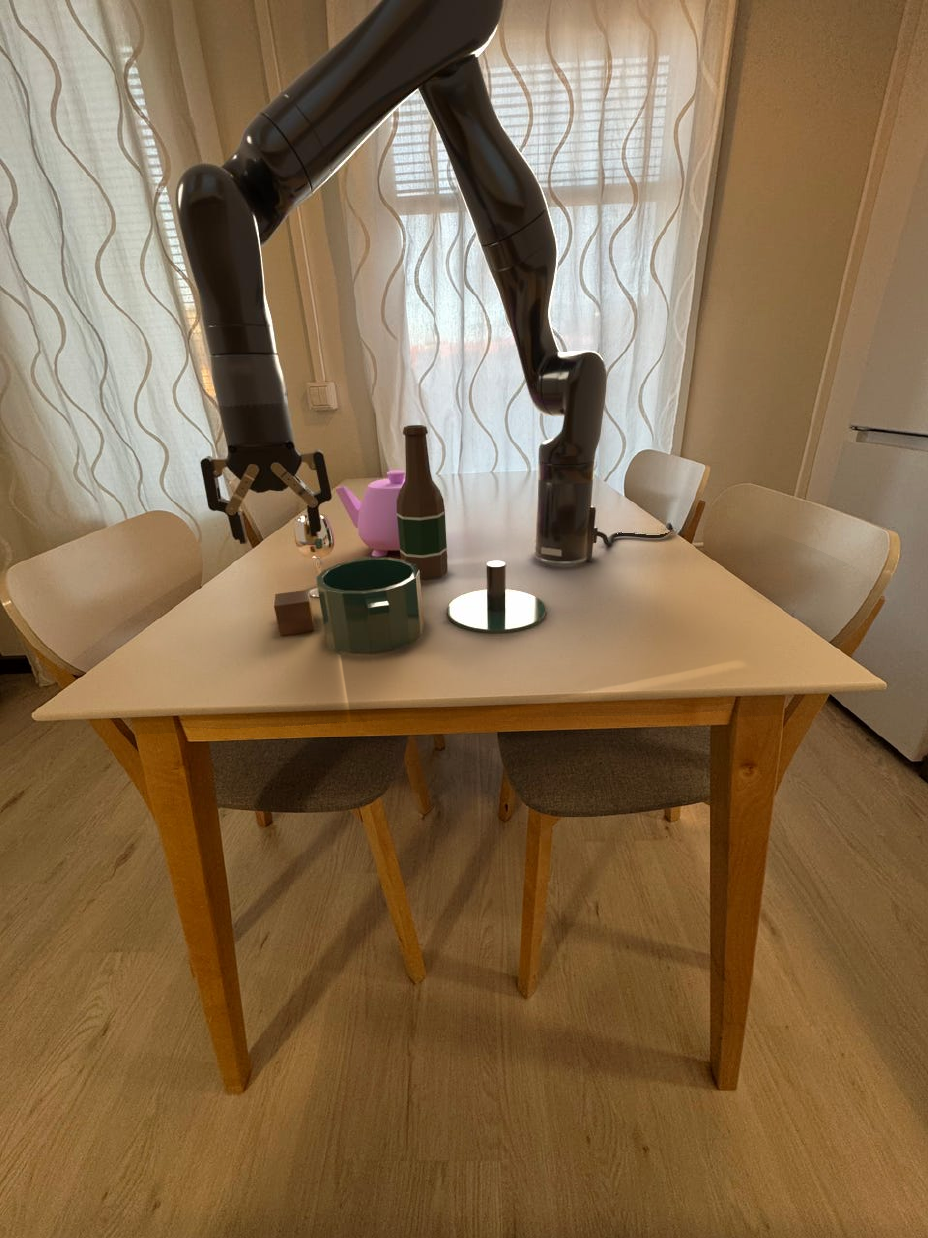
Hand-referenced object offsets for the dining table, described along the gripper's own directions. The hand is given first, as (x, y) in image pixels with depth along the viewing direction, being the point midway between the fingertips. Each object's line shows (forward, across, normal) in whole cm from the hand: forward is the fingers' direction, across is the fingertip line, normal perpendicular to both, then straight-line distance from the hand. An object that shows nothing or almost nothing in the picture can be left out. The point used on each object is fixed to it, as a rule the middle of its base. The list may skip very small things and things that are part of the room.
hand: (279, 538), depth 64 cm
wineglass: (+13, +4, +12) cm, 18 cm away
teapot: (+12, +19, +32) cm, 39 cm away
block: (+12, 0, 0) cm, 13 cm away
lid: (+12, +27, -6) cm, 30 cm away
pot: (+12, +10, -6) cm, 17 cm away
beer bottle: (+12, +21, +13) cm, 28 cm away
